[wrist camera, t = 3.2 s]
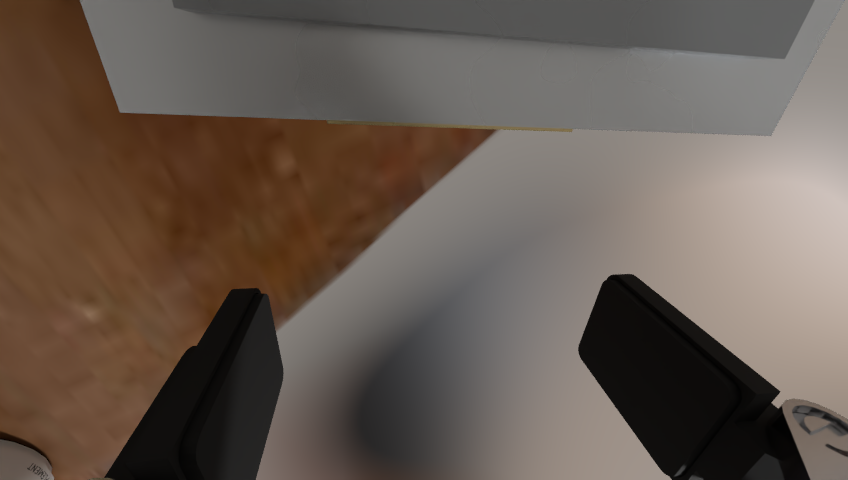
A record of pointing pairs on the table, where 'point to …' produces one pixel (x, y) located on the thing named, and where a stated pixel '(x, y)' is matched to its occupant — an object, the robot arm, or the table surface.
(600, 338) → the robot arm
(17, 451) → the supplement can
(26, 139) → the table surface
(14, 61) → the table surface
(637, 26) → the grey box
